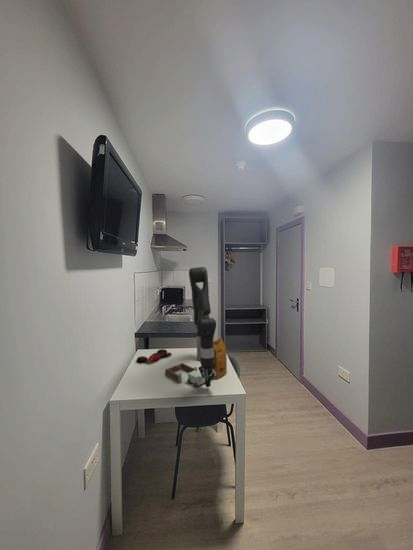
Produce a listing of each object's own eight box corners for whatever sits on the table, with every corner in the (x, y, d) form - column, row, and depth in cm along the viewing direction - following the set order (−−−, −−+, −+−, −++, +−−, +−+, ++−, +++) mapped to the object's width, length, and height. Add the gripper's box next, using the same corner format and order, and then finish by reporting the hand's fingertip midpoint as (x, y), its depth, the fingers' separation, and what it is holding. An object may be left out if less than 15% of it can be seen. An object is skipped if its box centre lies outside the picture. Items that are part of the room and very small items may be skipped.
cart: (206, 383, 133) (206, 374, 133) (197, 388, 128) (196, 378, 128) (195, 378, 140) (195, 369, 139) (186, 382, 135) (186, 373, 135)
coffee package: (204, 376, 143) (203, 340, 142) (216, 368, 152) (215, 335, 152) (217, 380, 136) (216, 343, 136) (229, 372, 146) (228, 338, 145)
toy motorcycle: (134, 364, 167) (147, 366, 156) (134, 356, 167) (146, 358, 156) (163, 354, 185) (176, 356, 174) (162, 348, 185) (175, 349, 175)
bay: (182, 368, 154) (182, 360, 154) (198, 375, 144) (197, 367, 143) (165, 375, 145) (164, 367, 145) (179, 383, 134) (179, 375, 134)
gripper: (220, 356, 124) (221, 388, 125) (203, 350, 134) (204, 379, 135) (210, 360, 119) (211, 393, 120) (193, 353, 129) (194, 384, 129)
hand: (207, 386), depth 127 cm, fingers closed
